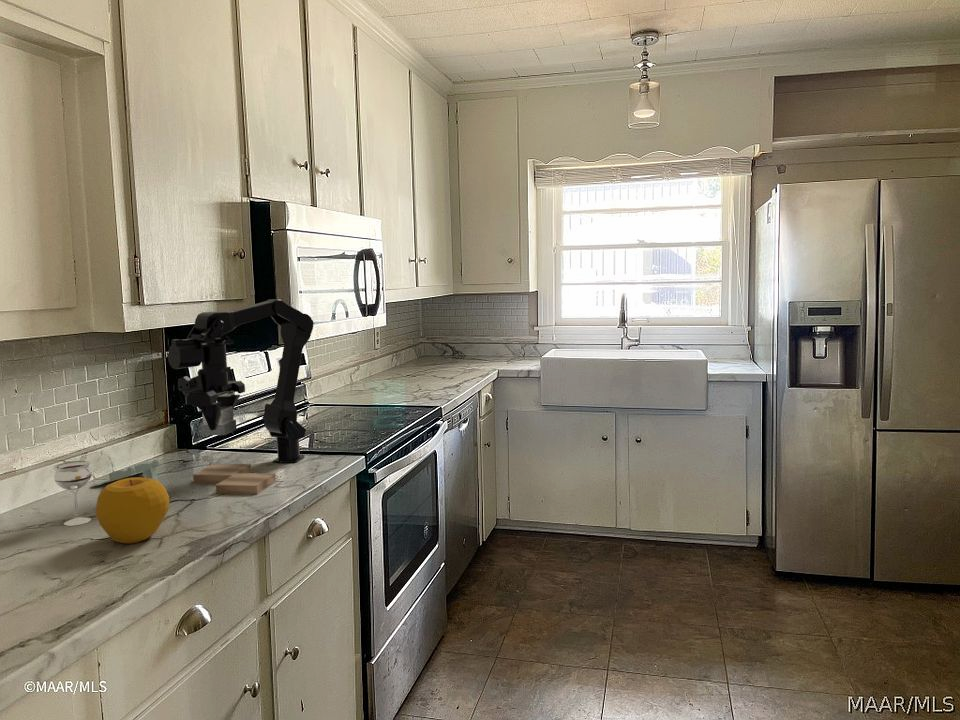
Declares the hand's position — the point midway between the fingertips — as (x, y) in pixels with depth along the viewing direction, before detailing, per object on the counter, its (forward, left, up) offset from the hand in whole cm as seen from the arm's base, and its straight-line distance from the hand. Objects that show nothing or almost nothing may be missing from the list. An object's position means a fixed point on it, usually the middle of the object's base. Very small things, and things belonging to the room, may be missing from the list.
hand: (219, 427), depth 183 cm
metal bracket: (+4, -21, -13) cm, 25 cm away
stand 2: (+8, +10, -13) cm, 18 cm away
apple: (+41, +4, -13) cm, 43 cm away
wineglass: (+33, -15, -13) cm, 38 cm away
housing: (0, 0, -1) cm, 1 cm away
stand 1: (0, 0, -13) cm, 13 cm away
